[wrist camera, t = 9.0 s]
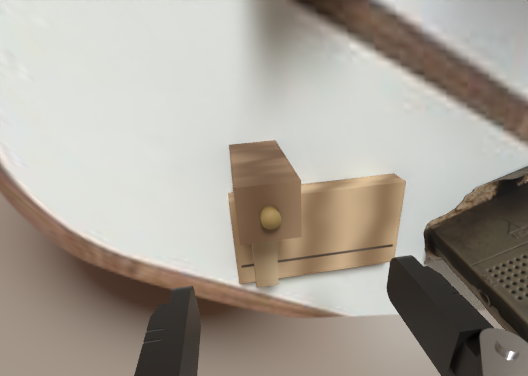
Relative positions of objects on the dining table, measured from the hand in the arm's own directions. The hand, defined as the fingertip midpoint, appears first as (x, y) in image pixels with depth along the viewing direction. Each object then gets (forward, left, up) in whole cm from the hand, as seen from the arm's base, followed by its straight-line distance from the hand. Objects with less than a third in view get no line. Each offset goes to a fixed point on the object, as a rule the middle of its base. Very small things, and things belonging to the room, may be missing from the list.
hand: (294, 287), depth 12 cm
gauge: (0, +4, -16) cm, 16 cm away
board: (-5, +7, -16) cm, 18 cm away
